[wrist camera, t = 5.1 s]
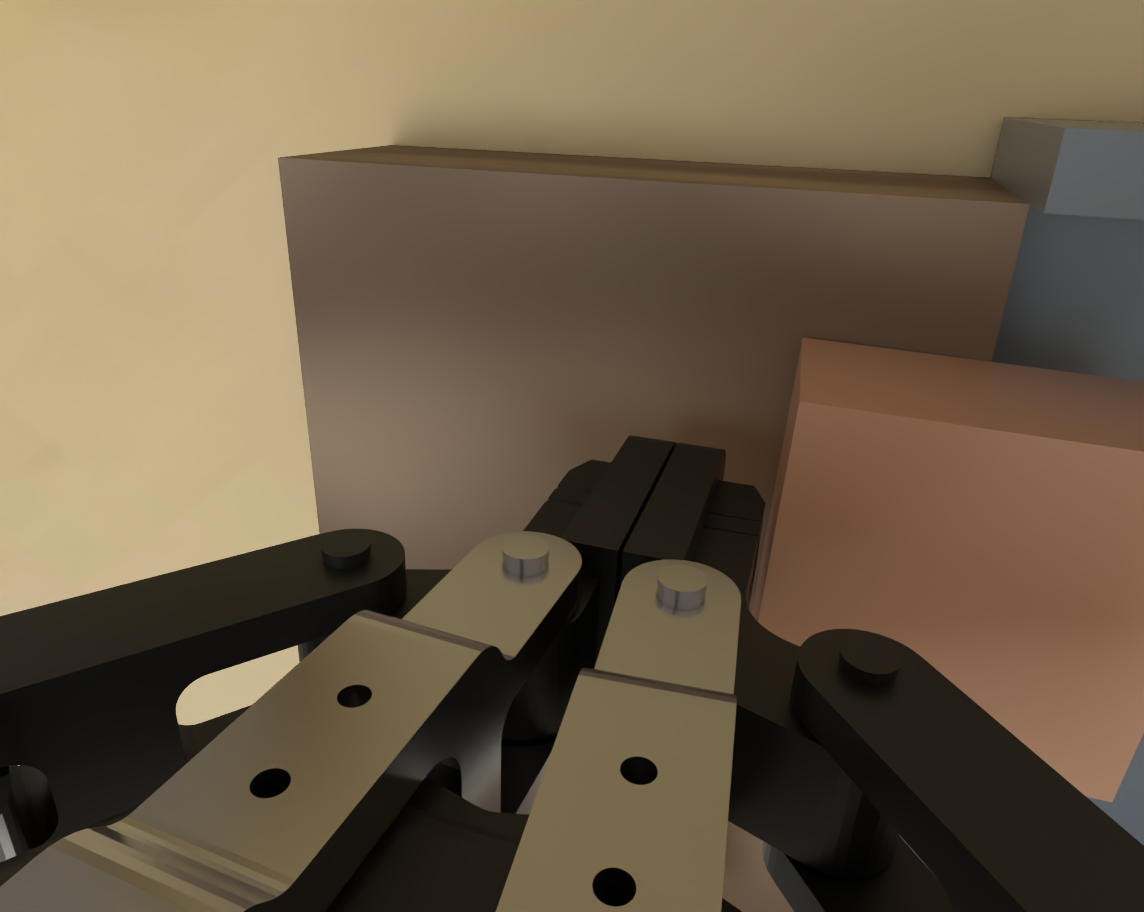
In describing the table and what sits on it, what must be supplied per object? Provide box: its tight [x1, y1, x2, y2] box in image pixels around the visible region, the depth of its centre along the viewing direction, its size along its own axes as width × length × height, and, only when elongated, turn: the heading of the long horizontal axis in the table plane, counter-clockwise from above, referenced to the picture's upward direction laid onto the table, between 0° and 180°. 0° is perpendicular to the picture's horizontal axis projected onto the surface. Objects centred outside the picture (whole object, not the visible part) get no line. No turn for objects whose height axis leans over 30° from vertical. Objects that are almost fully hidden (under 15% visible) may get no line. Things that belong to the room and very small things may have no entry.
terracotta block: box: [752, 337, 1144, 802], centre depth 12 cm, size 5×5×3 cm
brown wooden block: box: [278, 145, 1030, 912], centre depth 18 cm, size 16×12×4 cm
